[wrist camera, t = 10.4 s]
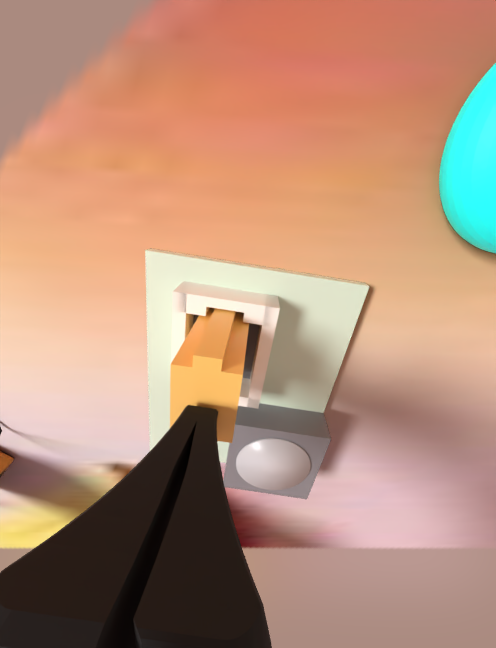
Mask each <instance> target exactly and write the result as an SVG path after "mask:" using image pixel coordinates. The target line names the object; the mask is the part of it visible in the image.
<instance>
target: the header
mask: <svg viewBox="0 0 496 648" xmlns="http://www.w3.org/2000/svg"><path fill="white" fill-rule="evenodd" d="M210 307H212V308H218V309H224V310H230V311H237V312H243V313H244V318H243V322H245V323H249V329H248V337H247V345H246V353H245V362H244V370H243V377H242V384H241V390H240V396H239V403H238V406H244V407H250V408H257V409H258V407H259V403H260V398H261V394H262V389H263V384H264V380H265V375H266V370H267V366H268V361H269V357H270V352H271V347H272V343H273V338H274V334H275V329H276V324H277V320H278V315H279V310H280V306H279V299H278V296H275V295H269V294H262V293H256V292H250V291H244V290H237V289H231V288H225V287H219V286H212V285H206V284H200V283H193V282H187V281H183V282H182V283H181V284H180V285H179V286H178V287H177V288H176V289H175V290H174V291H173V304H172V346H171V363H172V361H173V359H174V358H175V356H176V354H177V352H178V351H179V349H180V347H181V346H182V344H183V342H184V341H185V339H186V337H187V335H188V334H189V332H190V330H191V329H192V327H193V325H194V324H195V322H196V320H197V318H198V317H199V315H201V316H206V314H207V312H208V311H209V309H210Z"/></svg>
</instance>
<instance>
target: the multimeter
mask: <svg viewBox="0 0 496 648" xmlns="http://www.w3.org/2000/svg"><path fill="white" fill-rule="evenodd" d="M1 432H2V430H1V427H0V434H1ZM13 460H14V458H12V457H10V456H8V455H6V454H5V453H3V452H1V451H0V477H1V476H2V475H3V473H4V472H5V471H6V469H7V468H8V467H9V465H10V464H11V463H12V462H13Z"/></svg>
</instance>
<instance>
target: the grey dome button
mask: <svg viewBox="0 0 496 648" xmlns="http://www.w3.org/2000/svg"><path fill="white" fill-rule="evenodd" d="M330 441H331V437H330V433H329V430H328V426H327V423H326V420H325V416H324V413H320V412H314V411H307V410H301V409H294V408H288V407H281V406H275V405H268V404H262V403H259V407H258V409H257V408H250V407H244V406H238V409H237V415H236V422H235V428H234V434H233V441H232V443H229V447H228V453H227V459H226V466H225V473H224V480H223V482H224V487H228V488H235V489H241V490H248V491H255V492H261V493H268V494H275V495H282V496H288V497H295V498H302V499H307V498H308V495H309V493H310V490H311V488H312V486H313V483H314V481H315V478H316V476H317V473H318V471H319V468H320V466H321V463H322V461H323V458H324V456H325V453H326V451H327V448H328V446H329V443H330Z"/></svg>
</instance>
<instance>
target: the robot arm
mask: <svg viewBox="0 0 496 648" xmlns="http://www.w3.org/2000/svg"><path fill="white" fill-rule="evenodd" d="M217 418H218V411H217V410H216V409H212V408H206V407H199V406H193V405H187V406H186V407H185V408H184V410H183V412H182V413H181V414H180V416H179V417H178V419H177V420H176V421H175V423H174V424H173V425H172V426H171V428H170V429H169V430H168V431H167V432H166V434H165V435H164V436H163V437H162V438H161V440H160V441H159V442H158V443H157V444H156V445H155V446H154V448H153V449H152V450H151V451H150V452H149V453H148V454H147V455H146V456H145V457H144V458H143V459H142V460H141V461H140V462H139V463H138V464H137V465H136V466H135V467H134V468H133V469H132V470H131V471H130V472H129V473H128V474H127V475H126V476H125V477H124V478H123V479H122V480H121V481H120V482H119V483H117V484H116V485H115V486H114V487H113V488H112V489H111V490H109V491H108V492H107V493H106V494H105V495H104V496H103V497H101V498H100V499H99V500H98V501H97V502H95V503H94V504H93V505H92V506H91V507H89V508H88V509H87V510H86V511H84V512H83V513H82V514H80V515H79V516H78V517H76V518H75V519H74V520H73V521H71V522H70V523H69V524H67V525H66V526H65V527H63V528H62V529H61V530H60V531H58V532H57V533H56V534H54V535H53V536H51V537H50V538H49V539H47V540H46V541H44V542H43V543H41V544H40V545H39V546H37V547H36V548H34V549H33V550H31V551H30V552H28V553H27V554H26V555H24V556H23V557H21V558H20V559H18V560H17V561H15V562H14V563H12V564H11V565H10V566H8V567H7V568H5V569H4V570H2V571H1V573H0V648H272V646H271V640H270V635H269V630H268V626H267V621H266V617H265V612H264V607H263V603H262V601H261V598H260V596H259V593H258V591H257V588H256V586H255V583H254V581H253V578H252V576H251V573H250V570H249V567H248V564H247V562H246V559H245V556H244V554H243V550H242V547H241V544H240V541H239V538H238V535H237V531H236V528H235V525H234V522H233V519H232V515H231V511H230V508H229V504H228V500H227V496H226V491H225V487H224V482H223V477H222V472H221V466H220V460H219V452H218V443H217Z"/></svg>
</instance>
